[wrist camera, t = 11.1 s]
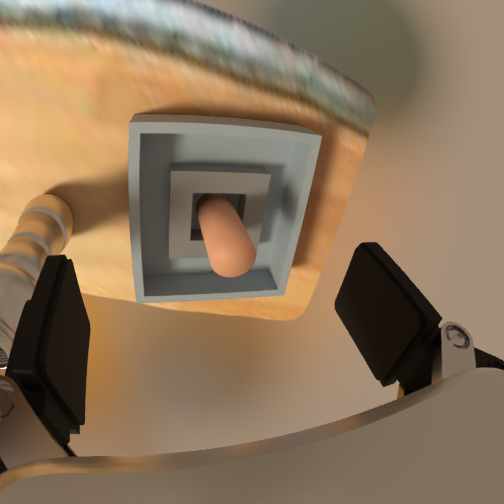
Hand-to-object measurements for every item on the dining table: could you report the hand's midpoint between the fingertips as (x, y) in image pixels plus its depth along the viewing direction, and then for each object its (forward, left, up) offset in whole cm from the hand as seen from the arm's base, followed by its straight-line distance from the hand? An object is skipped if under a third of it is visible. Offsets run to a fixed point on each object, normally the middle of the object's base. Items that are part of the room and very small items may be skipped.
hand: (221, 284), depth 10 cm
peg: (+8, +4, -24) cm, 26 cm away
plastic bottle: (+9, -15, -25) cm, 30 cm away
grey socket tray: (+8, +4, -25) cm, 26 cm away
